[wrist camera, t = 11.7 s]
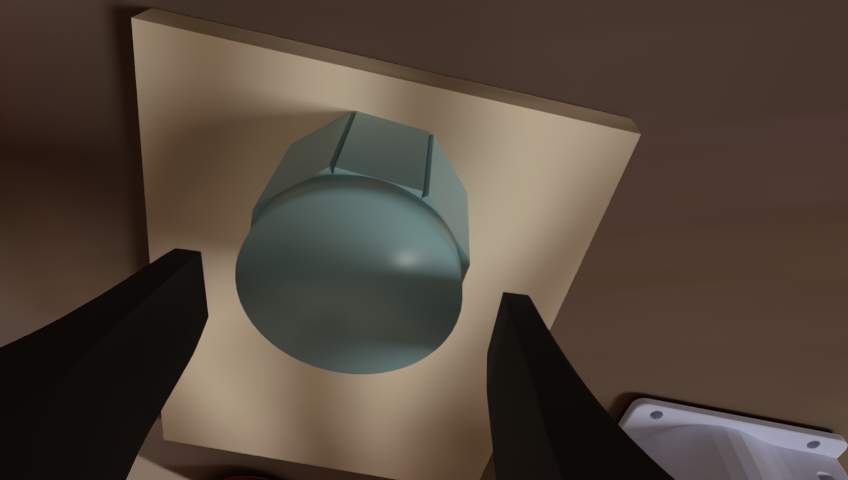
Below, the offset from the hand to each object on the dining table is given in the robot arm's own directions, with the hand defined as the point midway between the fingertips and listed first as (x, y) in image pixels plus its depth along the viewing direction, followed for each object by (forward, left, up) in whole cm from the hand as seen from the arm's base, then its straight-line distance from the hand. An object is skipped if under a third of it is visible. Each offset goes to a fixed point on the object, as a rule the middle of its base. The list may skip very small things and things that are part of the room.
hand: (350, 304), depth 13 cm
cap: (0, 0, -5) cm, 5 cm away
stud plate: (0, +5, -6) cm, 8 cm away
